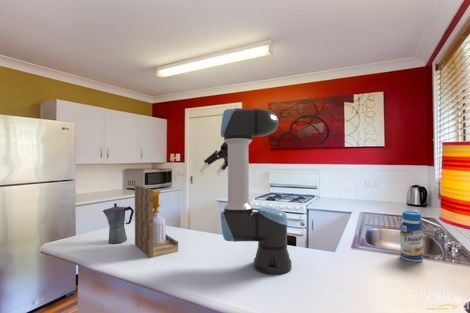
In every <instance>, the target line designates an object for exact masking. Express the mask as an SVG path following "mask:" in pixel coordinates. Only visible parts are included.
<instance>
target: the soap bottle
mask: <svg viewBox="0 0 470 313" xmlns="http://www.w3.org/2000/svg"><path fill="white" fill-rule="evenodd" d="M160 194H161V191H160V190H153V244H160V243H163V242H165V240H166V235H167V233H166V220H165V218H164V217H163V216H160V211H159V210H158V209H159V208H160V207H161V206H162V204H159V203H160V201H159V200H160V198H159V197H160Z"/></svg>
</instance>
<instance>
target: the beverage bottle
mask: <svg viewBox="0 0 470 313" xmlns="http://www.w3.org/2000/svg"><path fill="white" fill-rule="evenodd" d="M401 216H402V217H401V218H402V222H401V225H400V229H401V230H400V232H399V234H400V258H402V259H404V260H406V261H409V262H416V263H417V262H422V261H423V259H424V254H423V253H424V245H423V244H424V233H423V231H424V228H423V226H422V224H421V223H420V222H421V221H422V215H421V213H420V212H416V211H409V210H408V211H407V210H406V211H402V215H401Z"/></svg>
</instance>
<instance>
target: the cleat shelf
mask: <svg viewBox="0 0 470 313" xmlns="http://www.w3.org/2000/svg"><path fill="white" fill-rule="evenodd" d="M153 191H154V190H153V189H151V188H148V187H145V186H142V185H137V184H136V185H134V245H135V246H136V247H137V248H138V249H139V250H140V251H141V252H143V254H145V255H146V256H147V257H148V258H149V259H151V258H155V257H156V258H157V257H160V256H164V255H169V254H173V253H178V252H179V241H178V240H176V239H174V238H172V237H171V236H170V235H168V234H166V240H165V242H163V243H160V244H153V211H154V209H153Z"/></svg>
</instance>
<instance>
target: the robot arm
mask: <svg viewBox="0 0 470 313" xmlns="http://www.w3.org/2000/svg"><path fill="white" fill-rule="evenodd" d="M279 124H280V121H279V118H278V116H277V114H275V113H274V112H273V111H271V110H269V109H265V108H239V107H238V108H237V107H235V108H227V109H225V110H224V111H223V113H222V117H221V124H220V137H221V138H223V142H222V144H221V145H220V150H219V151H218V150H214V152H213V153H211V155H209V156H208V157H207V158H206V159H204V160H203V162H204V165H203V166H202V168H200V170H199V172H200V173H201V174H202V175H204V174H205V173H206V172H207V170H208V168H209V167H210V165H211V164H213V163H215V162H216V161H218V160H221V159H224V160H223V161H224V162H222V164H221V165H220V166H219V168H218V170H217V171H216V173H217V174H218V176H222V174H223V172H224V171H225V170H226V169H227V204H226V205H225V206H224V207H223V210H222V211H221V212H220V223H221V231H222V233H221V234H222V236H223V239H224V240H225V241H226V242H235V243H236V242H257V244H258V245H257V250H256V253H255V257H254V259H253V268H254V269H255V270H256V271H258V272H260V273H262V274H266V275H283V274H286V273H289V272H291V270H292V267H293V266H292V259H291V258H290V254H289V250H288V218H287V214H286V212H285V211H284V210H281V209H277V208H273V207H259V208H258V209H257V211H254V210H253V206H252V205H251V204H250V198H249V197H250V194H249V192H250V190H249V188H250V186H249V184H250V181H249V179H250V178H249V177H250V176H249V175H250V174H249V173H250V172H249V145H250V144H251V143H252V142H253V138H257V137H260V138H261V137H264V136H269V135H272V134H273V133H275V132H276V131H277V130H278V127H279Z"/></svg>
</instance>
